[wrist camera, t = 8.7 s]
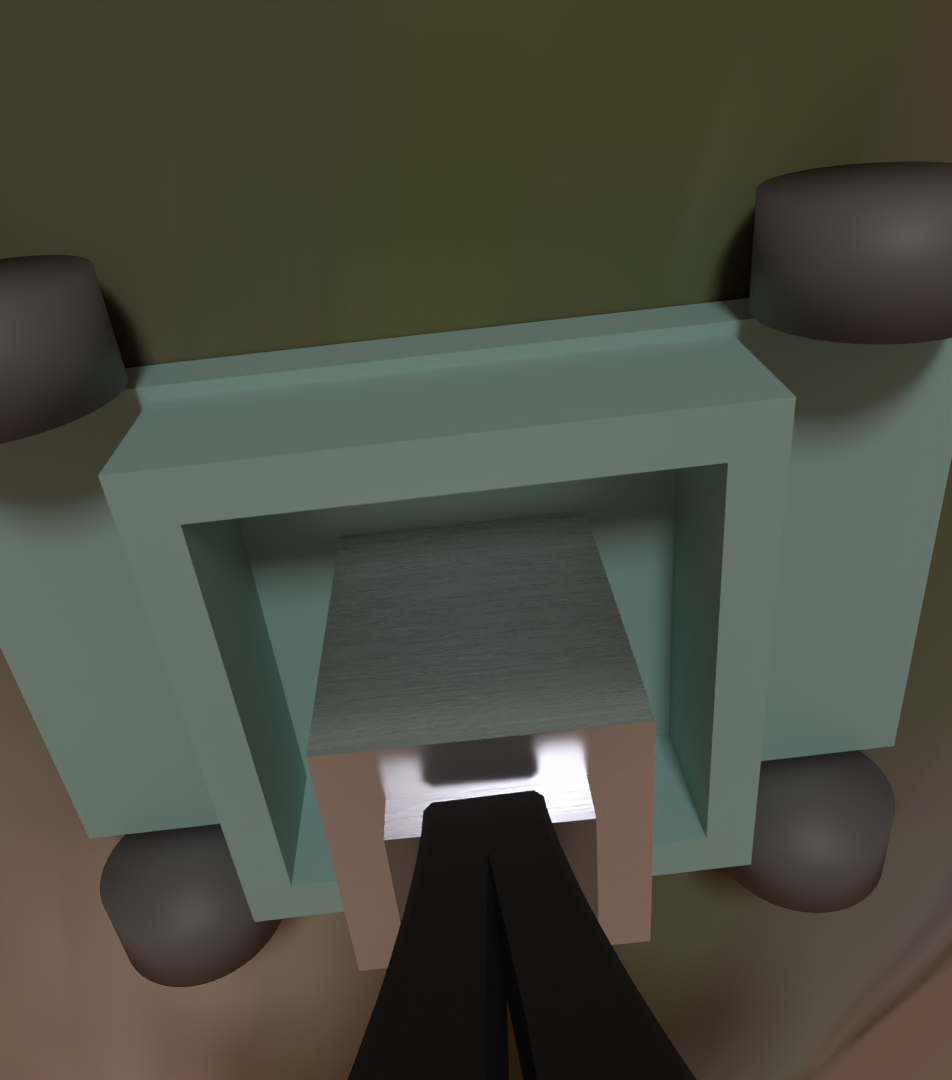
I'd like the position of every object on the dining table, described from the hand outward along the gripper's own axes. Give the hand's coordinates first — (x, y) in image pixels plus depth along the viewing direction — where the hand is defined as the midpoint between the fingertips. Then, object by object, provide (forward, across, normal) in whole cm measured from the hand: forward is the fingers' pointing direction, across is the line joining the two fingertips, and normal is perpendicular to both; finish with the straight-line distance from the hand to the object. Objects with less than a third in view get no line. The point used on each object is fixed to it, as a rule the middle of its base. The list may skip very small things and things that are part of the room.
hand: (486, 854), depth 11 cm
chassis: (+6, 0, 0) cm, 6 cm away
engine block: (+5, 0, 0) cm, 5 cm away
